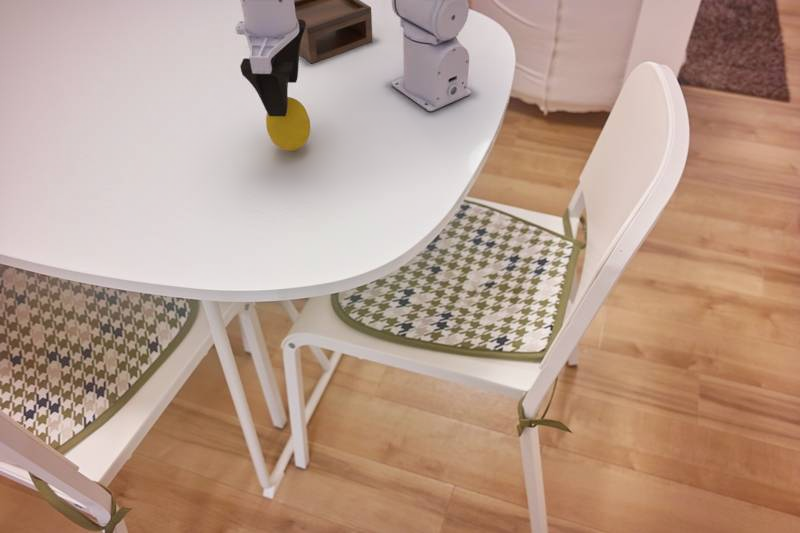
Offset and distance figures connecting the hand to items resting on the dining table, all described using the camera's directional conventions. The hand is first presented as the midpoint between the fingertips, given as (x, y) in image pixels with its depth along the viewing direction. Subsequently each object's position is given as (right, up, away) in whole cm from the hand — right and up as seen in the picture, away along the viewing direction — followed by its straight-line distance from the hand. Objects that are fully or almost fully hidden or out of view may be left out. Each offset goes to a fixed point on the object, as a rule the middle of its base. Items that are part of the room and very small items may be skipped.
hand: (283, 97), depth 76 cm
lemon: (0, -6, +6) cm, 8 cm away
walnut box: (+2, +17, +27) cm, 32 cm away
